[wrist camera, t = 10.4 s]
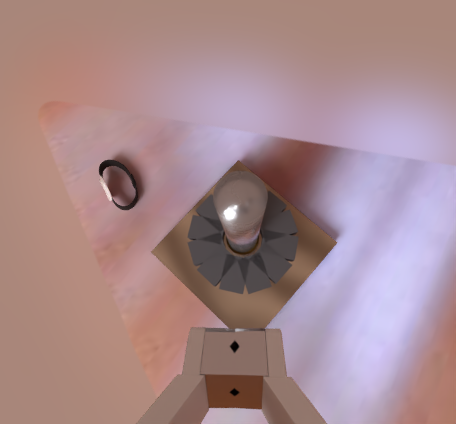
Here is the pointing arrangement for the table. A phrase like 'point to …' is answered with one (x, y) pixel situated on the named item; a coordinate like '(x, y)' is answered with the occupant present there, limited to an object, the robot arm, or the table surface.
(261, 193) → the metallic rounded rod
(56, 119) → the table surface
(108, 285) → the table surface
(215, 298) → the stand
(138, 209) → the table surface
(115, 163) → the watch
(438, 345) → the table surface
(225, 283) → the grey gear
